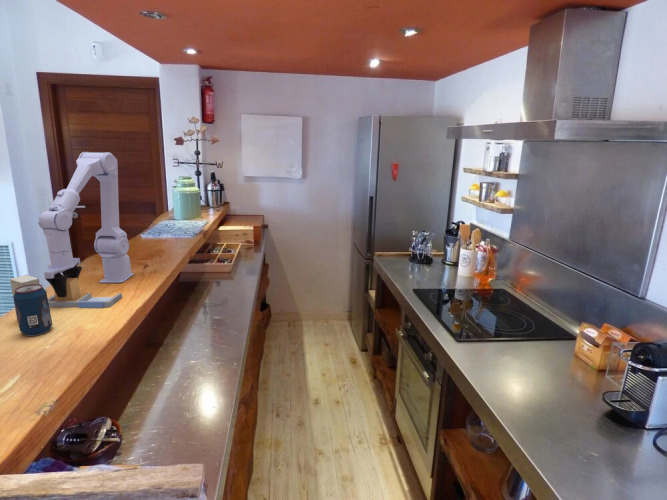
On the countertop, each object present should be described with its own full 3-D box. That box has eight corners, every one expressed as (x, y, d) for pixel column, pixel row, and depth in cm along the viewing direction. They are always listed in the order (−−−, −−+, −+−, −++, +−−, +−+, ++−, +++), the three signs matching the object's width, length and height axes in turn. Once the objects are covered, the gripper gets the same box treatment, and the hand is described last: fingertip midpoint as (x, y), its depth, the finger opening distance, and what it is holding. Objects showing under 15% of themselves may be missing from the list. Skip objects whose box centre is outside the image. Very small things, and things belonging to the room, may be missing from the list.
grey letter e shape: (57, 297, 131) (56, 292, 130) (122, 297, 131) (121, 292, 131) (40, 308, 123) (39, 302, 122) (109, 307, 123) (108, 302, 123)
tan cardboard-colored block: (64, 299, 130) (60, 277, 128) (80, 299, 130) (77, 277, 128) (56, 304, 126) (52, 282, 124) (73, 304, 126) (69, 282, 124)
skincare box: (16, 320, 114) (8, 278, 111) (34, 314, 118) (26, 274, 115) (29, 325, 112) (21, 282, 109) (47, 319, 115) (39, 277, 112)
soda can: (22, 328, 110) (13, 286, 107) (54, 323, 113) (46, 281, 110) (19, 339, 104) (9, 294, 101) (52, 333, 107) (43, 289, 104)
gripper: (61, 244, 131) (68, 285, 134) (30, 257, 117) (38, 302, 120) (84, 244, 131) (90, 285, 134) (55, 257, 117) (63, 302, 120)
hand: (67, 293), depth 127 cm, fingers open, 5 cm apart
